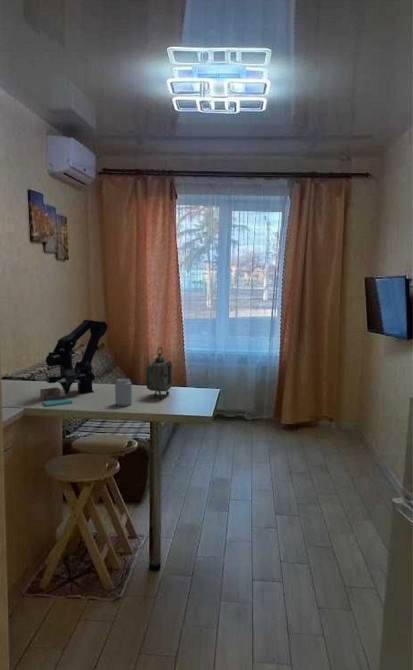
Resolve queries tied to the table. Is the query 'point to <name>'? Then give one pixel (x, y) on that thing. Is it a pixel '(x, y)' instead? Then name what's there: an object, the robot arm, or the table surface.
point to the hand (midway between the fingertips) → (66, 394)
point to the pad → (57, 402)
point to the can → (123, 392)
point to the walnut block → (48, 392)
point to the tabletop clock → (159, 375)
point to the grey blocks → (52, 397)
